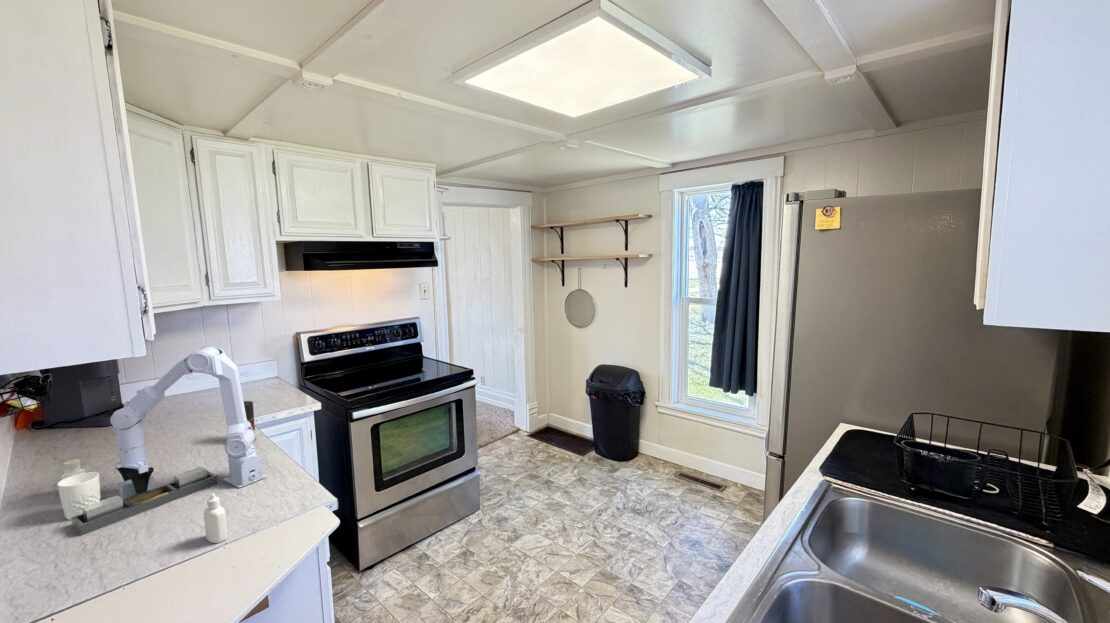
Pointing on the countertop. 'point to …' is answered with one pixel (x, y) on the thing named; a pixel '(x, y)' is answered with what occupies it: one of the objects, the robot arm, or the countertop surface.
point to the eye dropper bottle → (215, 521)
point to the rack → (141, 501)
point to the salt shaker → (72, 468)
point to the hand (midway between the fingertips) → (136, 489)
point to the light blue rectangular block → (131, 488)
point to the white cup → (79, 492)
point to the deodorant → (249, 413)
